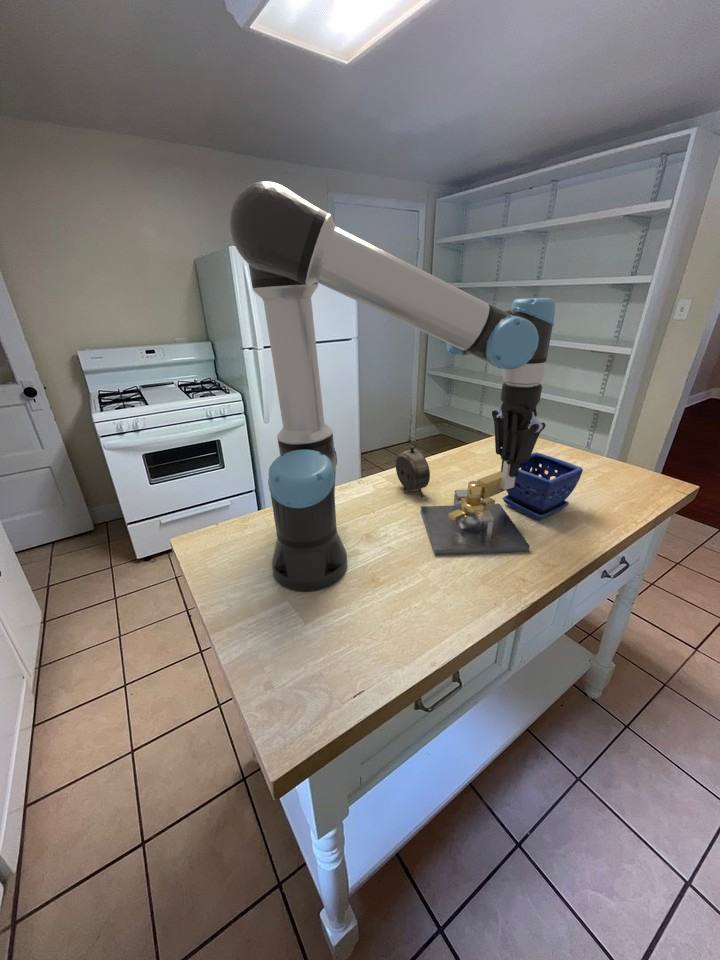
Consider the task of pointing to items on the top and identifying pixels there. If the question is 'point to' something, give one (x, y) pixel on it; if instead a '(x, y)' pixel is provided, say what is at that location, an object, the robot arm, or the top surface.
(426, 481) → the alarm clock
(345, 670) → the top surface
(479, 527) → the socket
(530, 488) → the flower pot
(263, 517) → the top surface
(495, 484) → the lever handle
